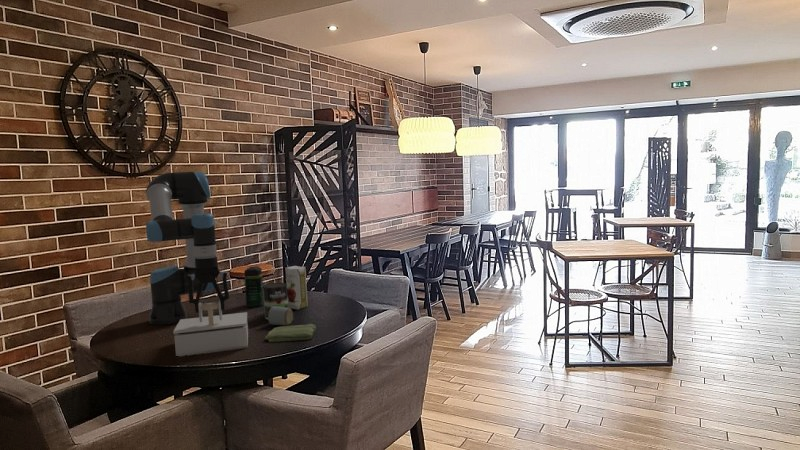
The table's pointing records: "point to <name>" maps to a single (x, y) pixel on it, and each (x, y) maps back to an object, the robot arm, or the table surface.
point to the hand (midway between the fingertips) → (211, 319)
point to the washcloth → (291, 333)
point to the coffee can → (275, 296)
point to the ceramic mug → (280, 316)
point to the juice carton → (296, 287)
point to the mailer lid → (211, 320)
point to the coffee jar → (254, 286)
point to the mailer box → (211, 340)
